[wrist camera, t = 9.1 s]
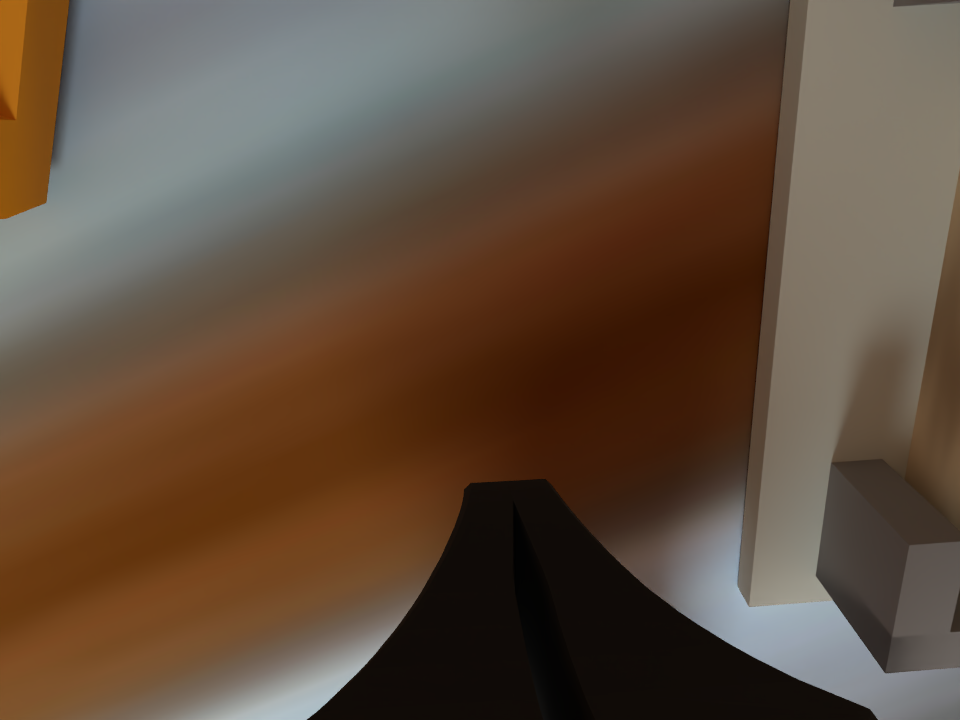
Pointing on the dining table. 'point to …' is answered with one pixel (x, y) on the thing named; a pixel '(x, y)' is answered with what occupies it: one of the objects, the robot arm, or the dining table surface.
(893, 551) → the cradle
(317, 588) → the dining table surface
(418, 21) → the dining table surface
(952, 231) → the wooden block
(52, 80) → the bracket
